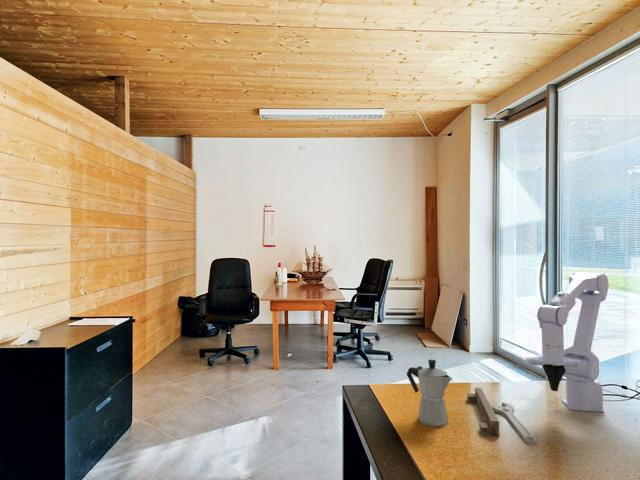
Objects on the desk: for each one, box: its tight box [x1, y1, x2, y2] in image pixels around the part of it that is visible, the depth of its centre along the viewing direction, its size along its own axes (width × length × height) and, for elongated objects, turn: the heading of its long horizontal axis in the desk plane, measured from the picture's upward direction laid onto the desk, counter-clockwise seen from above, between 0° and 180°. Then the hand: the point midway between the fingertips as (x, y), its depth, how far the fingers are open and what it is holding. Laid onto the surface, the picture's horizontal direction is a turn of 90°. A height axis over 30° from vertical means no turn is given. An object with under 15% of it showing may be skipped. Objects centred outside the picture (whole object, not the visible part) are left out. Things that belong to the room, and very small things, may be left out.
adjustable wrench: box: [492, 401, 537, 446], centre depth 114 cm, size 25×6×2 cm, turn 169°
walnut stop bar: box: [466, 387, 500, 437], centre depth 120 cm, size 4×26×4 cm, turn 167°
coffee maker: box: [406, 359, 453, 428], centre depth 117 cm, size 15×9×18 cm, turn 47°
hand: (553, 389), depth 118 cm, fingers closed
